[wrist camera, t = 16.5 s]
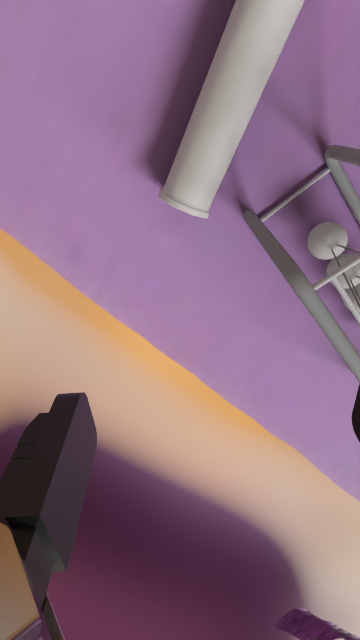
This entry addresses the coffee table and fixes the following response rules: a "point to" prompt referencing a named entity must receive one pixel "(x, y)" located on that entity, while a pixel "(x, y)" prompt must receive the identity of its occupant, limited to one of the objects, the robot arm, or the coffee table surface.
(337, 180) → the newton's cradle
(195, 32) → the coffee table surface
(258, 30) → the tube
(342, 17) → the coffee table surface
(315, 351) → the coffee table surface
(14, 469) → the robot arm
